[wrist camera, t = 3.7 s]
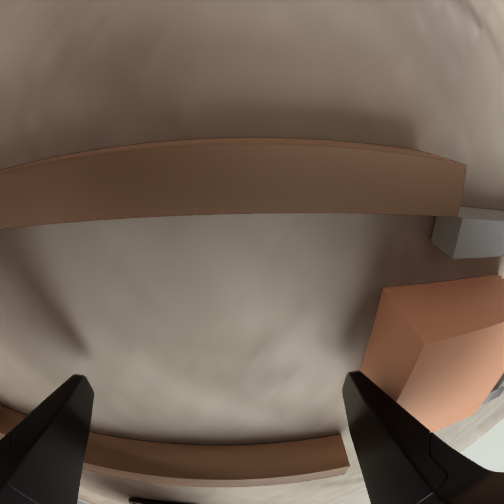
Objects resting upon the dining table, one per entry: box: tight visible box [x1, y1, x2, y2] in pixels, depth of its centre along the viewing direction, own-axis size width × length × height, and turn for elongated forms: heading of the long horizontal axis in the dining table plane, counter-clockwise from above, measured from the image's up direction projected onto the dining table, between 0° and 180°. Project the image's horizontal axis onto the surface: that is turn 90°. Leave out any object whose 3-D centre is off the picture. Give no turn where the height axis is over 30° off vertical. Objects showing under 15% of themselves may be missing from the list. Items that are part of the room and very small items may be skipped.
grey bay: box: [431, 207, 504, 405], centre depth 10 cm, size 11×10×1 cm
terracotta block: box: [359, 274, 504, 433], centre depth 9 cm, size 6×6×3 cm
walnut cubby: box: [0, 138, 466, 487], centre depth 8 cm, size 14×21×2 cm
